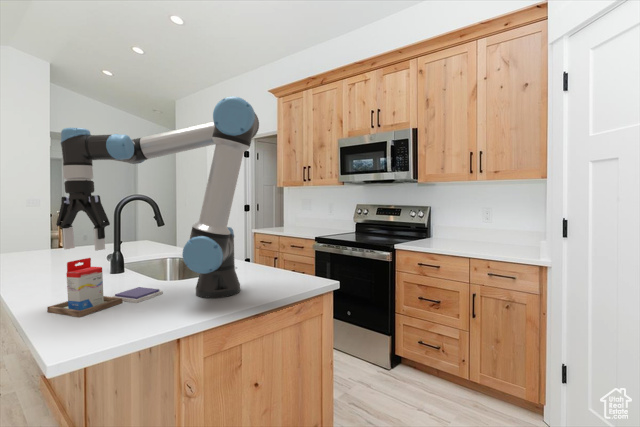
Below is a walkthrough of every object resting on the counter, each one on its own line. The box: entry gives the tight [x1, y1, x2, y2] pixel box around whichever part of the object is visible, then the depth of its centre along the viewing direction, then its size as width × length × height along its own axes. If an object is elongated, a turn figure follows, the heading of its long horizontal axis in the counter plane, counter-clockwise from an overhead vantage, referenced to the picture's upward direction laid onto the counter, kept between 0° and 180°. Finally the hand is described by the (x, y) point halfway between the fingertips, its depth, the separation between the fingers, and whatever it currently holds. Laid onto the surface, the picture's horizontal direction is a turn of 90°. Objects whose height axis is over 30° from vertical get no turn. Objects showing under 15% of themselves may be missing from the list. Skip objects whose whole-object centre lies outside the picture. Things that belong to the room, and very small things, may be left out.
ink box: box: [65, 257, 104, 311], centre depth 112 cm, size 8×5×15 cm, turn 164°
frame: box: [46, 295, 123, 318], centre depth 112 cm, size 14×14×2 cm
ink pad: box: [111, 286, 164, 304], centre depth 123 cm, size 11×11×2 cm
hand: (84, 249), depth 111 cm, fingers open, 13 cm apart
